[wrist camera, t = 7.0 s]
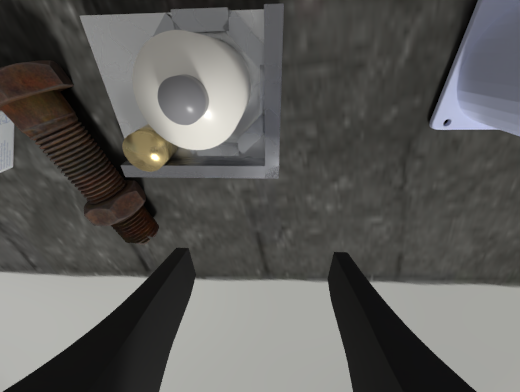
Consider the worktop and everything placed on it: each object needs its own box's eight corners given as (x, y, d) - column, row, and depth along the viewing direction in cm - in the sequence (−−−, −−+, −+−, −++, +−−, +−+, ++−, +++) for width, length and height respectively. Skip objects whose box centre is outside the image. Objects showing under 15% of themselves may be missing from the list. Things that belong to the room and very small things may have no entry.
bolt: (155, 213, 25) (50, 70, 17) (181, 221, 22) (69, 52, 14) (108, 252, 22) (-53, 94, 14) (132, 267, 19) (-57, 77, 11)
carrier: (282, 12, 13) (284, -1, 10) (277, 163, 19) (278, 185, 16) (93, 18, 14) (42, 8, 11) (142, 162, 19) (117, 183, 16)
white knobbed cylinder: (254, 41, 13) (241, 34, 8) (249, 128, 16) (237, 162, 11) (168, 33, 13) (103, 20, 8) (178, 121, 16) (135, 152, 11)
